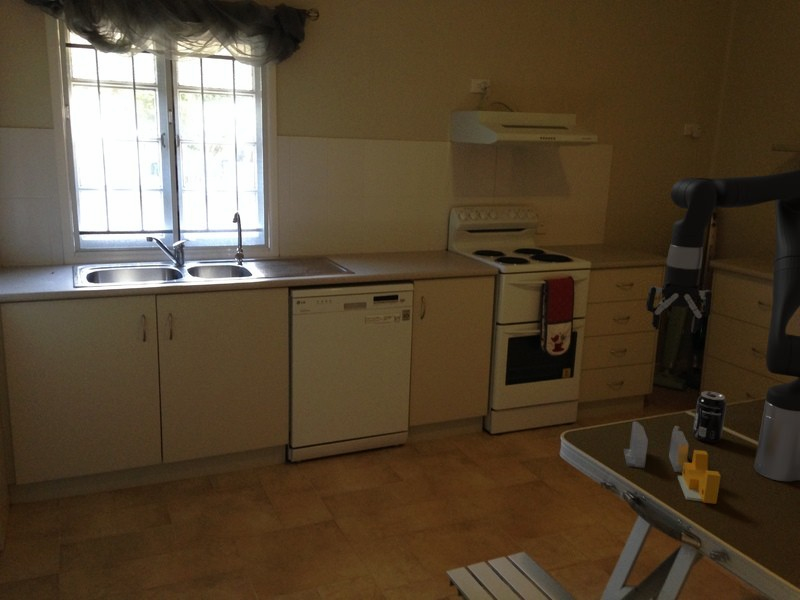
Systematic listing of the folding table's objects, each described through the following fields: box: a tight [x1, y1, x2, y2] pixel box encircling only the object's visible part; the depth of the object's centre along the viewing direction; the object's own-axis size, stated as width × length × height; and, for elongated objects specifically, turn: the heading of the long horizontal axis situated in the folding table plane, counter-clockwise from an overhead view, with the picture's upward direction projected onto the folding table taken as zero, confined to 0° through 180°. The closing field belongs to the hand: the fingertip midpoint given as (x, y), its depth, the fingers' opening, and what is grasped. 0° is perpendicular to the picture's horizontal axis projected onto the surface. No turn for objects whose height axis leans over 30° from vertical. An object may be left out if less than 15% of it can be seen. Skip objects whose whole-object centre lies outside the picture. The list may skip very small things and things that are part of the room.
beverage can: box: [692, 390, 727, 444], centre depth 184 cm, size 7×7×12 cm
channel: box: [623, 420, 690, 474], centre depth 171 cm, size 14×11×7 cm
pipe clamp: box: [681, 449, 722, 505], centre depth 157 cm, size 12×4×6 cm, turn 171°
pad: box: [677, 475, 704, 503], centre depth 158 cm, size 6×10×1 cm, turn 169°
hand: (674, 330), depth 173 cm, fingers open, 8 cm apart
